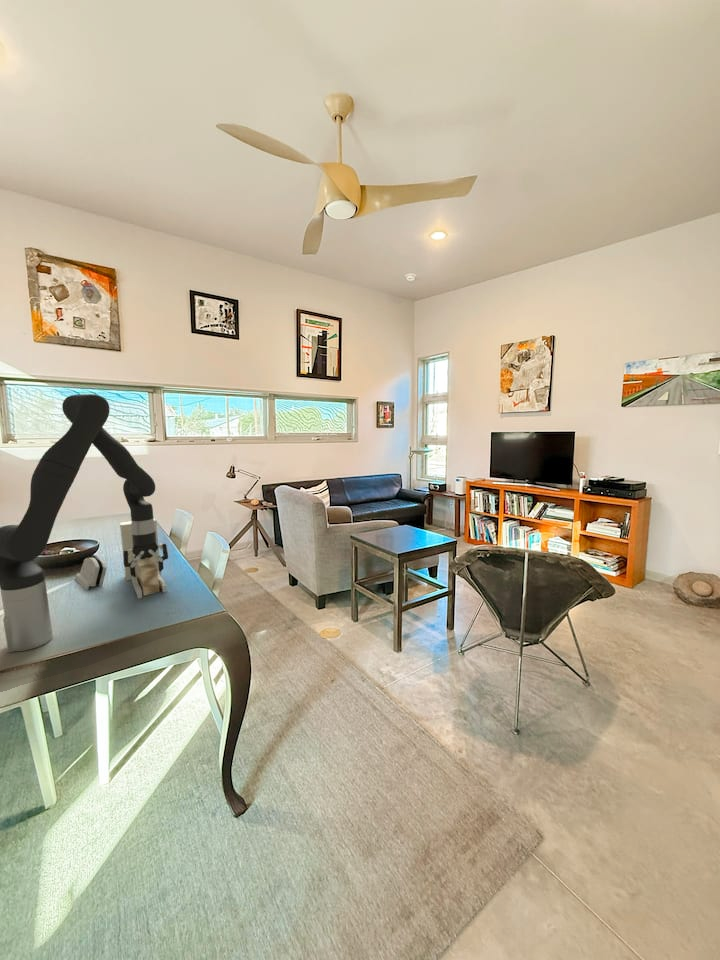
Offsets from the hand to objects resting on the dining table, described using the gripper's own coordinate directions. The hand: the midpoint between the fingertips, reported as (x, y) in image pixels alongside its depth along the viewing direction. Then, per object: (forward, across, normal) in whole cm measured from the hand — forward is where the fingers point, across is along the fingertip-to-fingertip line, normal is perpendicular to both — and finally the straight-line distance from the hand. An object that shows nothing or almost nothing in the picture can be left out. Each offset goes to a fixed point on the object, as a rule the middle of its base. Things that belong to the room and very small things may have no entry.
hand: (147, 573), depth 143 cm
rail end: (+5, 0, 0) cm, 5 cm away
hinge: (+6, -17, +19) cm, 26 cm away
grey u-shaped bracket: (+5, 0, +4) cm, 6 cm away
